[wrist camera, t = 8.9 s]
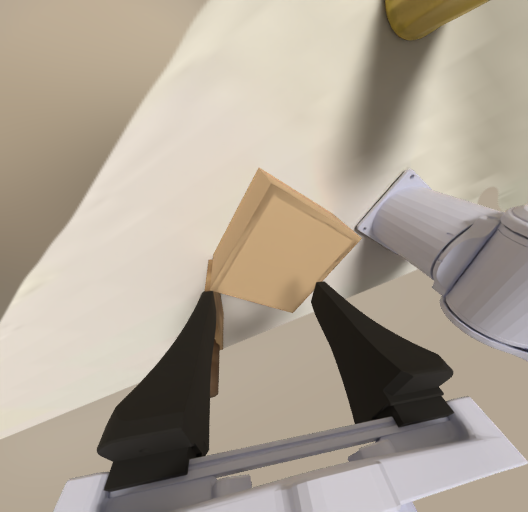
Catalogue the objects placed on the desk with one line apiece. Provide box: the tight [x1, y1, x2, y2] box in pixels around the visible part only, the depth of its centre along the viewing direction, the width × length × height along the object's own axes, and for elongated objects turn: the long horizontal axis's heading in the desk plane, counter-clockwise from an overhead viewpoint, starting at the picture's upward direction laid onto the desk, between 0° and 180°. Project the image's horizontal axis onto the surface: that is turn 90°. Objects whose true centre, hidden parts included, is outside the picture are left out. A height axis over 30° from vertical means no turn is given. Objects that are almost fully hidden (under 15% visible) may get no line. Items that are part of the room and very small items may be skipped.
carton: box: [210, 168, 362, 313], centre depth 20 cm, size 10×11×6 cm
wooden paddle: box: [205, 260, 224, 398], centre depth 21 cm, size 10×2×11 cm, turn 179°
